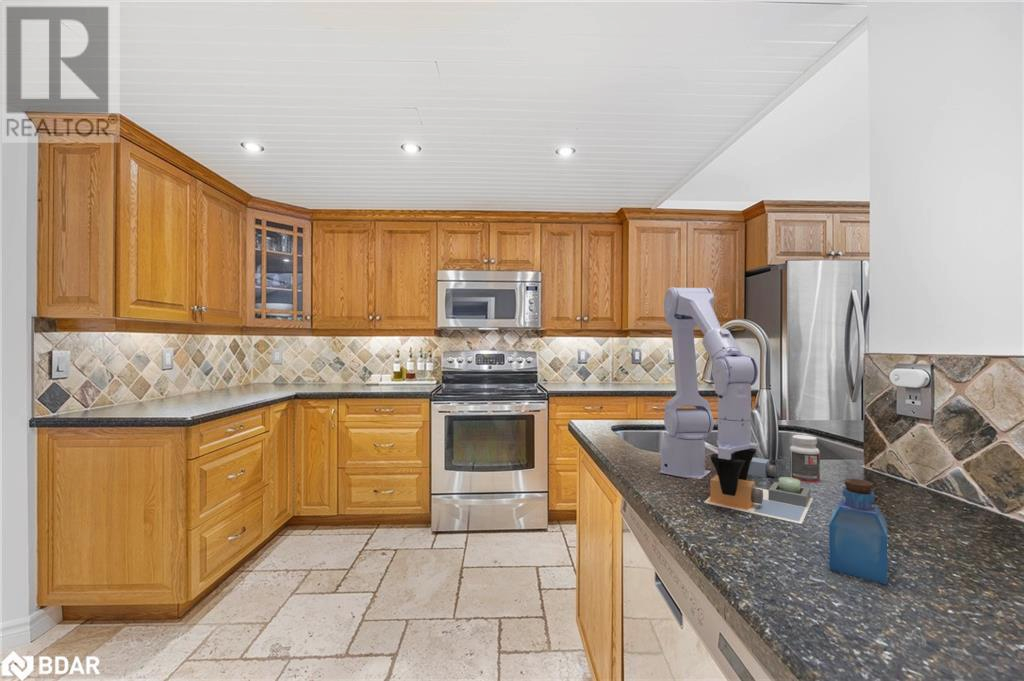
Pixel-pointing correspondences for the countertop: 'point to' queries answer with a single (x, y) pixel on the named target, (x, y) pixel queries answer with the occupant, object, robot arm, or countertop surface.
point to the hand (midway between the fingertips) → (734, 489)
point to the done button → (789, 484)
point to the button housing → (789, 496)
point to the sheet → (771, 509)
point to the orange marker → (743, 496)
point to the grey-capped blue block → (761, 468)
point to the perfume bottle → (858, 534)
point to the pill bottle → (805, 459)
